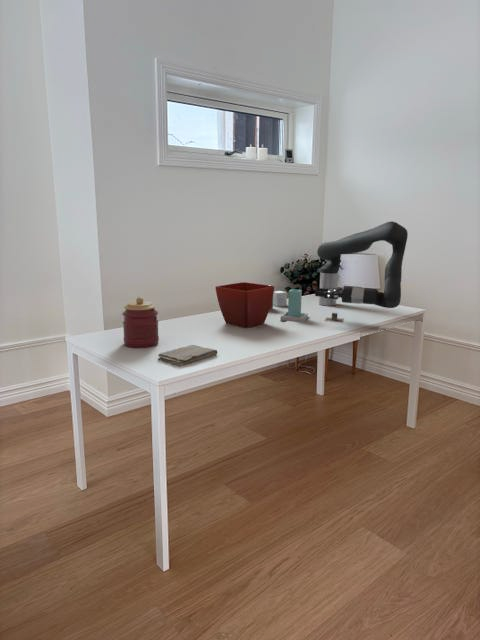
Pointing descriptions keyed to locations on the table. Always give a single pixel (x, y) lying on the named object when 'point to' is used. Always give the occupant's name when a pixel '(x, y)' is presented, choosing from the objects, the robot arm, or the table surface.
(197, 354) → the washcloth
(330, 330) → the table surface
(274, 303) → the skincare box
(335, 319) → the square wooden base
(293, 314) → the teal square tube
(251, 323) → the plant pot
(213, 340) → the table surface
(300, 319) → the tray
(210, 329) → the table surface
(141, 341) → the canister
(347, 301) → the robot arm
